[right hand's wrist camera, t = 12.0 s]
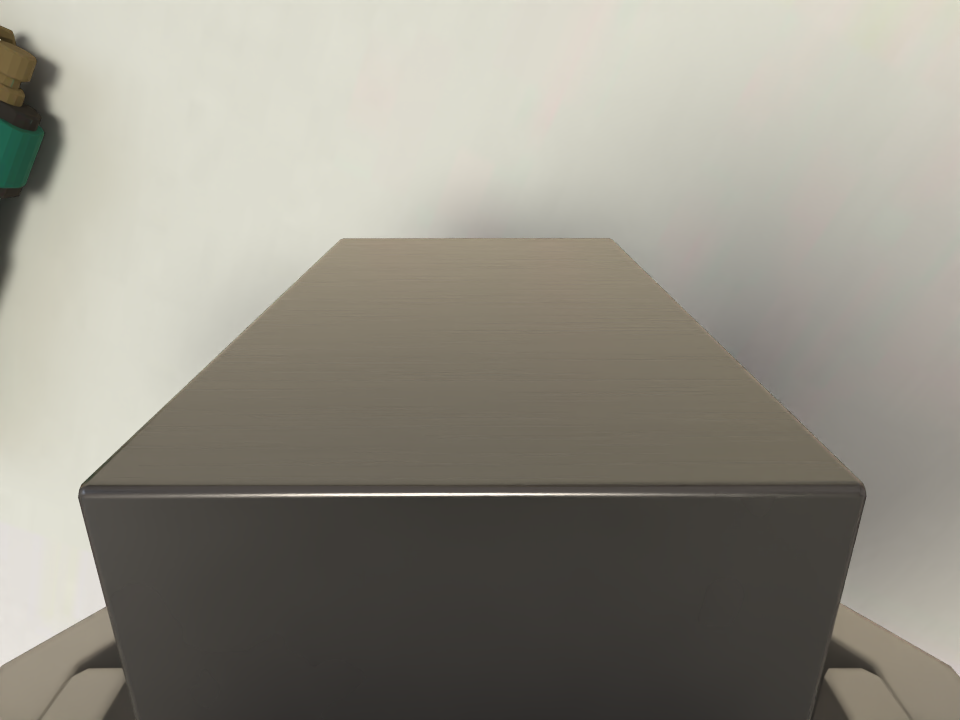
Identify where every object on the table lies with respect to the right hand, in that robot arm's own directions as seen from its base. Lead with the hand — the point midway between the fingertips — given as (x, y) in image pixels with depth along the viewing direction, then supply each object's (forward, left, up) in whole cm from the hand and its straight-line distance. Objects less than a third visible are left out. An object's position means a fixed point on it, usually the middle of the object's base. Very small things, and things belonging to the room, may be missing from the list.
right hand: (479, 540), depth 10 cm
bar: (-4, +8, -3) cm, 9 cm away
